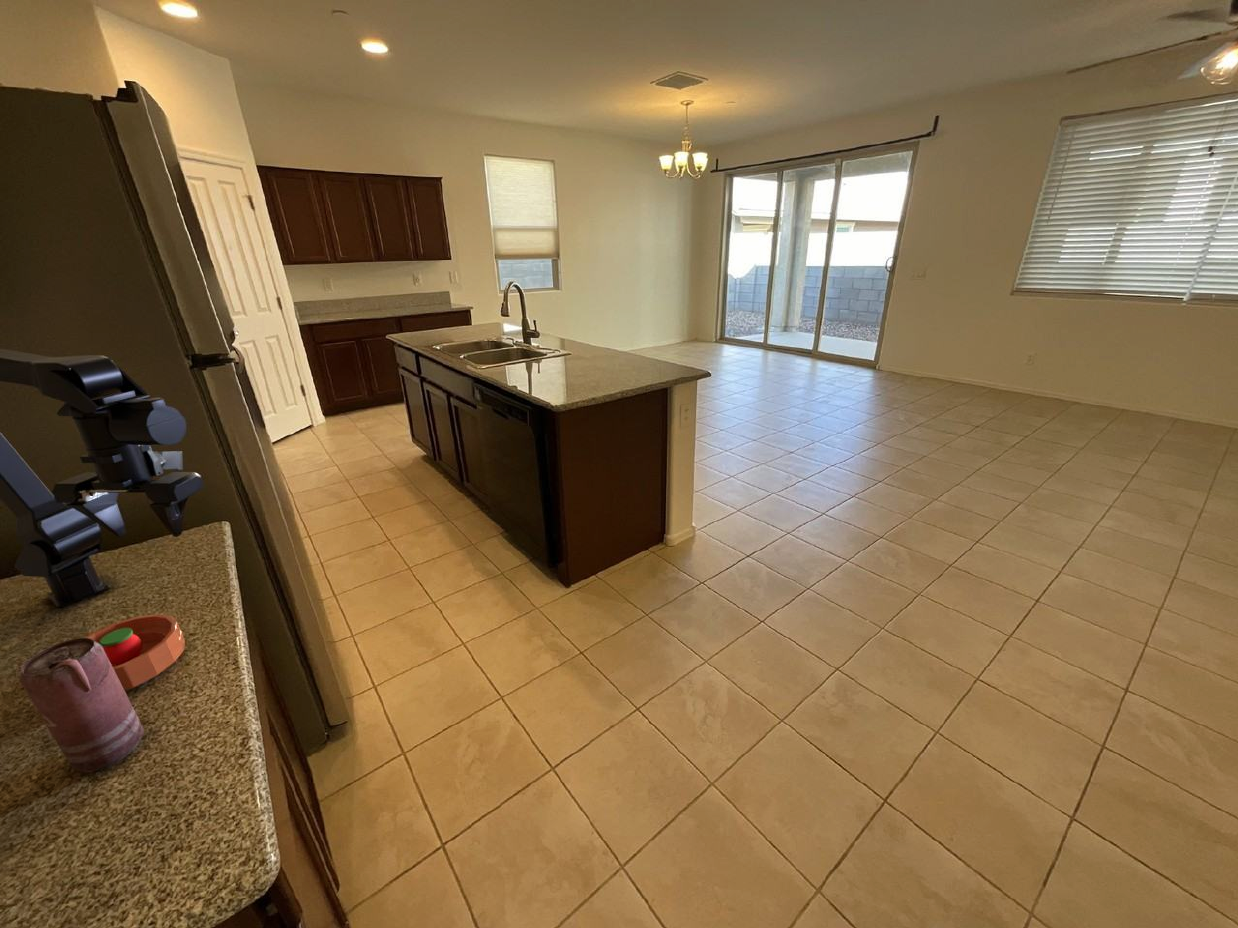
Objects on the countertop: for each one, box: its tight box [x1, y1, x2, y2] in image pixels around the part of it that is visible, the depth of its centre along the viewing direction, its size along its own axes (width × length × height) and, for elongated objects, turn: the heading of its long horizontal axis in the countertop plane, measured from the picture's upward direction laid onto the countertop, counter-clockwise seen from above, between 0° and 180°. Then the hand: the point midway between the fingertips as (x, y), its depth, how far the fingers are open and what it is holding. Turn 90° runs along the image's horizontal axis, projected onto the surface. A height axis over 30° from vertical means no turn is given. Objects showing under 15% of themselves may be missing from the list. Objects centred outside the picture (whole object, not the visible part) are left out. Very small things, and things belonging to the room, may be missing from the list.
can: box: [18, 637, 145, 773], centre depth 55 cm, size 6×6×14 cm
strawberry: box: [100, 628, 142, 666], centre depth 69 cm, size 4×4×5 cm
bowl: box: [84, 613, 186, 692], centre depth 69 cm, size 12×12×4 cm
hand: (150, 535), depth 80 cm, fingers open, 9 cm apart
